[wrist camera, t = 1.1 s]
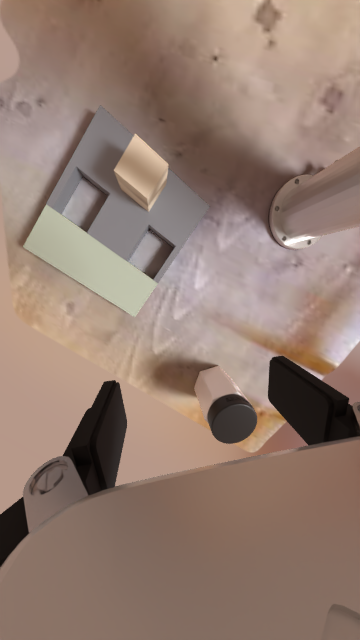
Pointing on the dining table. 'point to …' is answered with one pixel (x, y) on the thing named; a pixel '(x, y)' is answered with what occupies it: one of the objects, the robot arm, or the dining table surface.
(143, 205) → the birch block
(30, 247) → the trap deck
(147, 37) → the dining table surface
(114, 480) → the robot arm
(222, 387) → the jar
